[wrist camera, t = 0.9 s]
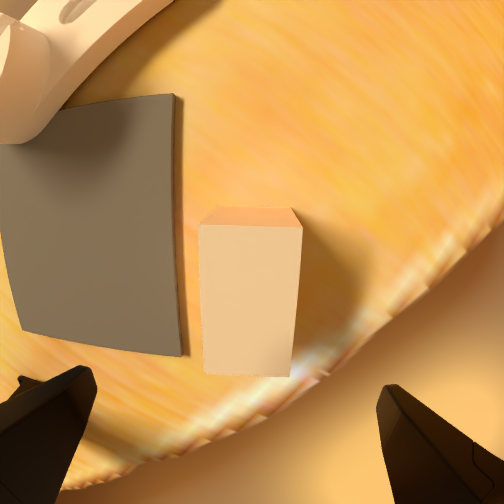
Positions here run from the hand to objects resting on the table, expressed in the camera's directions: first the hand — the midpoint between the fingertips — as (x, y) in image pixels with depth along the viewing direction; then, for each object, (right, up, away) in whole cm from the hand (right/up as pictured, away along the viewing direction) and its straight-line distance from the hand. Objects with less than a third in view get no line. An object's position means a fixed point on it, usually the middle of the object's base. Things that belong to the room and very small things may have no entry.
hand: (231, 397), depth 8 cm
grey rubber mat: (-12, +5, +12) cm, 18 cm away
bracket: (-12, +20, +7) cm, 24 cm away
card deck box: (+1, +3, +12) cm, 12 cm away
